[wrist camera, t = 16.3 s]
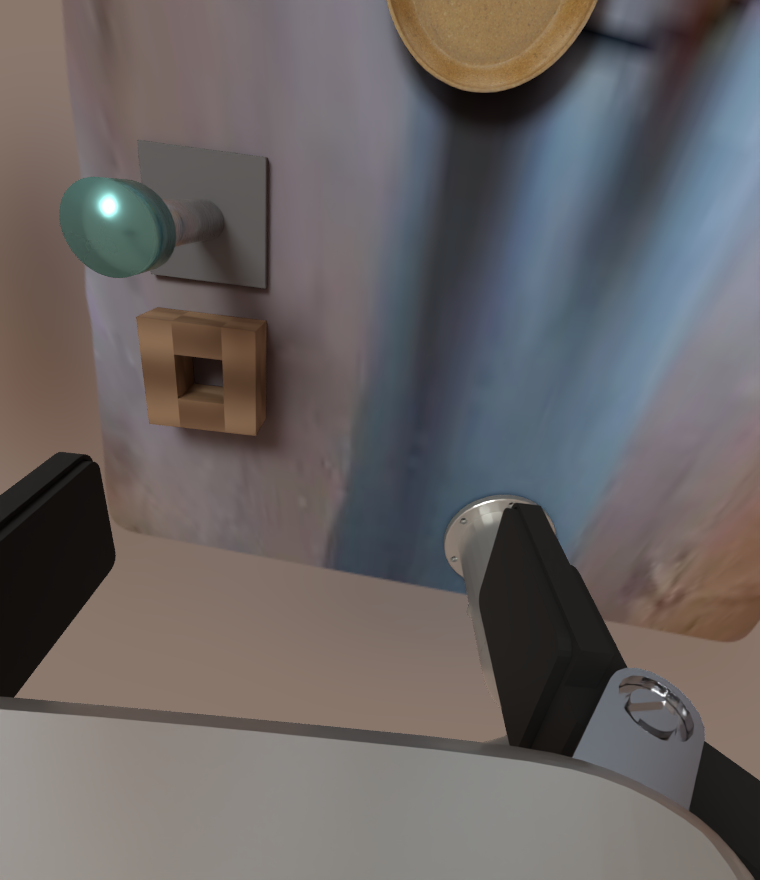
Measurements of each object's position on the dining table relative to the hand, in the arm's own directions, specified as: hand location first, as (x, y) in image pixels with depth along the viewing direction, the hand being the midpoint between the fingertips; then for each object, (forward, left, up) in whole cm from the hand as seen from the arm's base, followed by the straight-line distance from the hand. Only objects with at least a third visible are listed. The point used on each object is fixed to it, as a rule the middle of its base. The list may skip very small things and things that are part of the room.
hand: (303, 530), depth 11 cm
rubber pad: (+4, +14, -34) cm, 37 cm away
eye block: (-9, +14, -34) cm, 38 cm away
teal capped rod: (+4, +14, -34) cm, 37 cm away
